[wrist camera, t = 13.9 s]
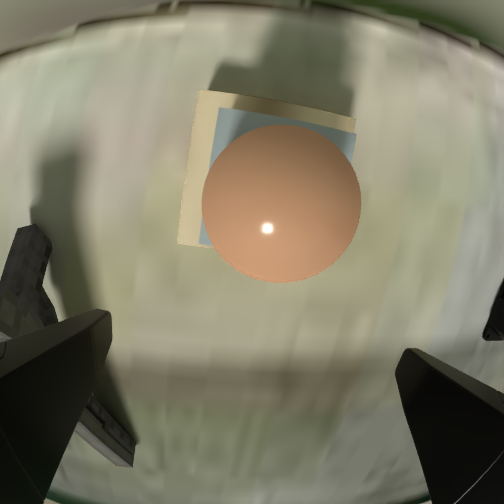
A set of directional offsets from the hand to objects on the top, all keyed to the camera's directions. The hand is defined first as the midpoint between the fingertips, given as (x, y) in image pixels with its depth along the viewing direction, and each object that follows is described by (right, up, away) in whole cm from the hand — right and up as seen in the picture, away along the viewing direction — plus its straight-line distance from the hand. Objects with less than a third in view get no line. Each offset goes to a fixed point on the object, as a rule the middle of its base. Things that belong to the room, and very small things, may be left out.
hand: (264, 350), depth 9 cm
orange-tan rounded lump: (0, +5, +4) cm, 6 cm away
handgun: (-15, -7, +16) cm, 23 cm away
